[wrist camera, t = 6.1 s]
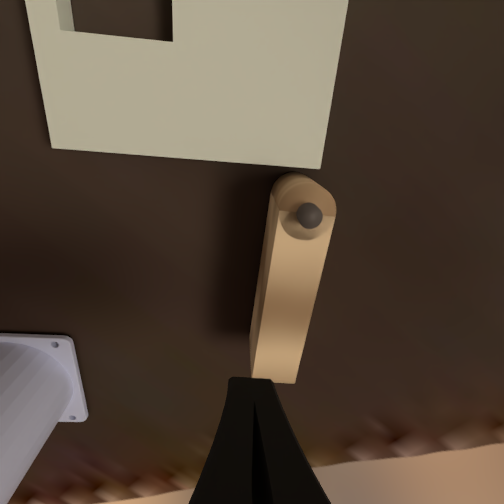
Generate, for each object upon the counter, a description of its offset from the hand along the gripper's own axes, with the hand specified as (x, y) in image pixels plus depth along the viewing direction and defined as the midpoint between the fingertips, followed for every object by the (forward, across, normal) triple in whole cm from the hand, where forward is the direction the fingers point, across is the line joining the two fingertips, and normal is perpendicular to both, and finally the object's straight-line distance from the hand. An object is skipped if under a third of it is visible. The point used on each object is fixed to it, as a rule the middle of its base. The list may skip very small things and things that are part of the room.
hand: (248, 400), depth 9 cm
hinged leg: (+9, -2, -1) cm, 10 cm away
